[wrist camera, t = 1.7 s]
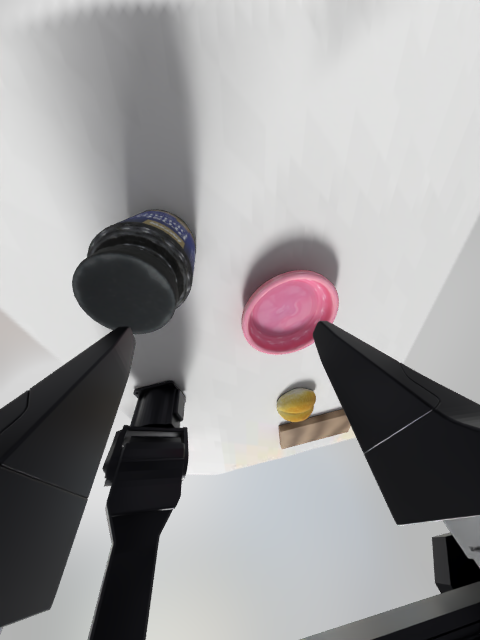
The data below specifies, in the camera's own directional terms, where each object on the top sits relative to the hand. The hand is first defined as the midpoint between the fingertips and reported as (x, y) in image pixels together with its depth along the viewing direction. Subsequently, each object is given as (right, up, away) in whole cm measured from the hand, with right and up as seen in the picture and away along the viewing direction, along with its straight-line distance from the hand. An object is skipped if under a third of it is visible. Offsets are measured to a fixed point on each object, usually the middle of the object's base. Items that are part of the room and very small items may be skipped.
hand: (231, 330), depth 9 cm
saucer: (+6, +2, +17) cm, 18 cm away
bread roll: (+12, -17, +32) cm, 38 cm away
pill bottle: (-7, +8, +9) cm, 14 cm away
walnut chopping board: (+21, -29, +42) cm, 55 cm away
